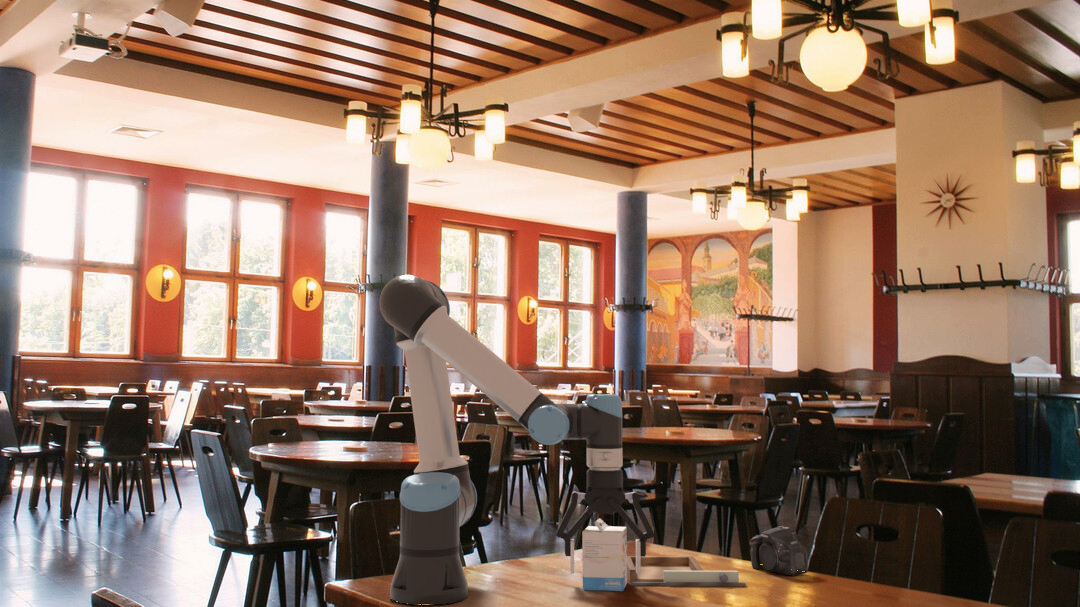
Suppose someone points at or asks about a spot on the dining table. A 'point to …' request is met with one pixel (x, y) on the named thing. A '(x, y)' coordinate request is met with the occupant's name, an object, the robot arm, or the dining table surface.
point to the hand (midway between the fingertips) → (605, 572)
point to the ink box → (604, 557)
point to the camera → (779, 552)
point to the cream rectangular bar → (701, 576)
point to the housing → (657, 564)
